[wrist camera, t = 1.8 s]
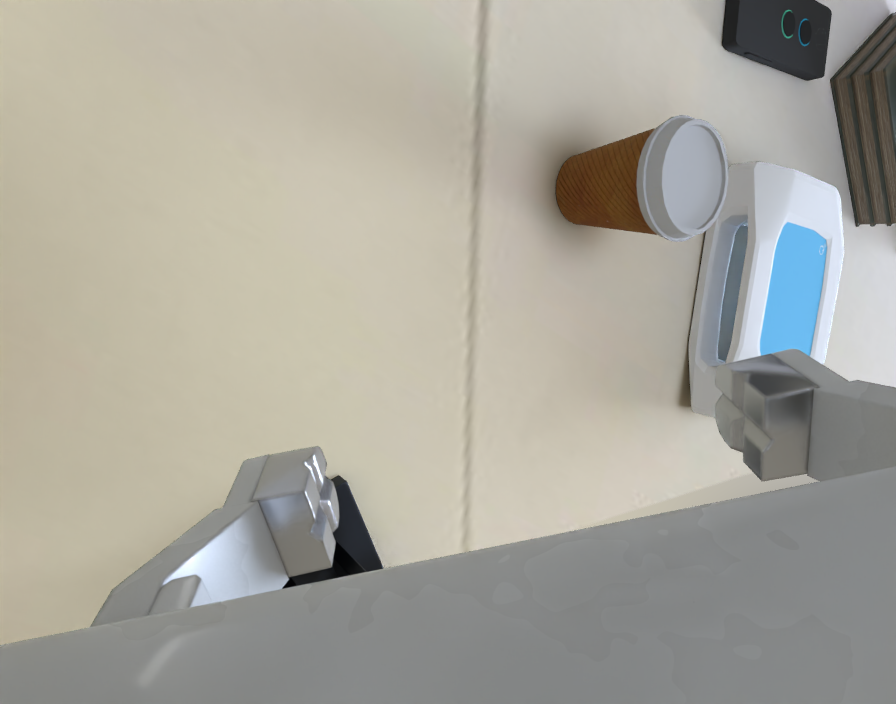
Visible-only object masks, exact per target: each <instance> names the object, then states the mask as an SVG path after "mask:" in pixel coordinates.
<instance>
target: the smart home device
mask: <svg viewBox="0 0 896 704" xmlns="http://www.w3.org/2000/svg"><path fill="white" fill-rule="evenodd" d="M831 15H832V13H831V10H830V9H829V8H828V7H826V6H824V5H822V4H821V3H819V2H817V1H815V0H726V10H725V21H724V31H723V42H722V44H723V47H724V48H725V49H726V50H728V51H731V52H733V53H736V54H739V55H741V56H744V57H746V58H749V59H752V60H754V61H757V62H760V63H762V64H765V65H767V66H770V67H773V68H775V69H778V70H780V71H783V72H786V73H788V74H791V75H794V76H796V77H799V78H801V79H804V80H807V81H808V80H813V79H818V78H822V77H824V72H825V64H826V56H827V48H828V40H829V31H830V23H831Z"/></svg>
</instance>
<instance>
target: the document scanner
mask: <svg viewBox="0 0 896 704" xmlns="http://www.w3.org/2000/svg"><path fill="white" fill-rule="evenodd" d="M742 225H744V226H748V242H747V248H746V254H745V260H744V266H743V272H742V279H741V285H740V291H739V297H738V303H737V310H736V316H735V322H734V328H733V334H732V341H731V346H730V349H729V352H728V356H727V359H726V362H725V361H722V360H719V358H718V344H719V333H720V322H721V312H722V306H723V299H724V293H725V287H726V280H727V274H728V269H729V264H730V259H731V253H732V248H733V243H734V238H735V234H736V232H737V230H738V228H739V227H741V226H742ZM843 258H844V239H843V224H842V210H841V198H840V194H839V192H838V190H837V189H836V187H835V186H833V185H830V184H828V183H826V182H823V181H821V180H819V179H816V178H814V177H812V176H809V175H807V174H805V173H802V172H800V171H798V170H795V169H792V168H788V167H783V166H779V165H774V164H770V163H765V162H761V161H755V162H747V163H738V164H732V165H731V166H730V167H729V168H728V187H727V192H726V197H725V200H724V204H723V207H722V209H721V211H720V213H719V216H718V217H717V219H716V220H715V222H714V223H713V225H712V226H711V227H709V228H708V229H707V230H706V235H705V241H704V248H703V254H702V260H701V267H700V273H699V280H698V286H697V293H696V299H695V306H694V312H693V319H692V325H691V332H690V338H689V372H690V393H691V407H692V411H693V412H695V413H699V414H702V415H706V416H710V417H714V418H715V404H716V402H717V401H718V399H719V398H720V396H721V395H722V392H721V391H720V390H719V389H718V388H717V387H716V386H715V372H716V369H717V366H719V365H723V364H727V363H731V362H735V361H740V360H744V359H748V358H753V357H757V356H762V355H766V354H770V353H775V352H779V351H783V350H787V349H799V350H800V351H802V352H803V353H805V354H807V355H808V356H810V357H811V358H813V359H814V360H816V361H818V362H819V363H821V364H822V365H823V364H824V362H825V358H826V352H827V347H828V341H829V336H830V330H831V325H832V319H833V314H834V308H835V303H836V297H837V292H838V286H839V280H840V275H841V269H842V264H843Z"/></svg>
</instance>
